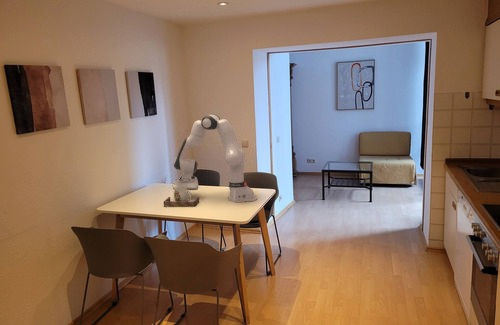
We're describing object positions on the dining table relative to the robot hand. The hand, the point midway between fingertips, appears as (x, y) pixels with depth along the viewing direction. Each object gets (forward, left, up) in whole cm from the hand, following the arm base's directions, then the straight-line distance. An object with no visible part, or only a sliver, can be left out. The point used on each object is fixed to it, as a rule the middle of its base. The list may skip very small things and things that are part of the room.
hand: (184, 194), depth 298 cm
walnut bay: (0, +8, -5) cm, 9 cm away
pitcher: (0, +6, -5) cm, 8 cm away
